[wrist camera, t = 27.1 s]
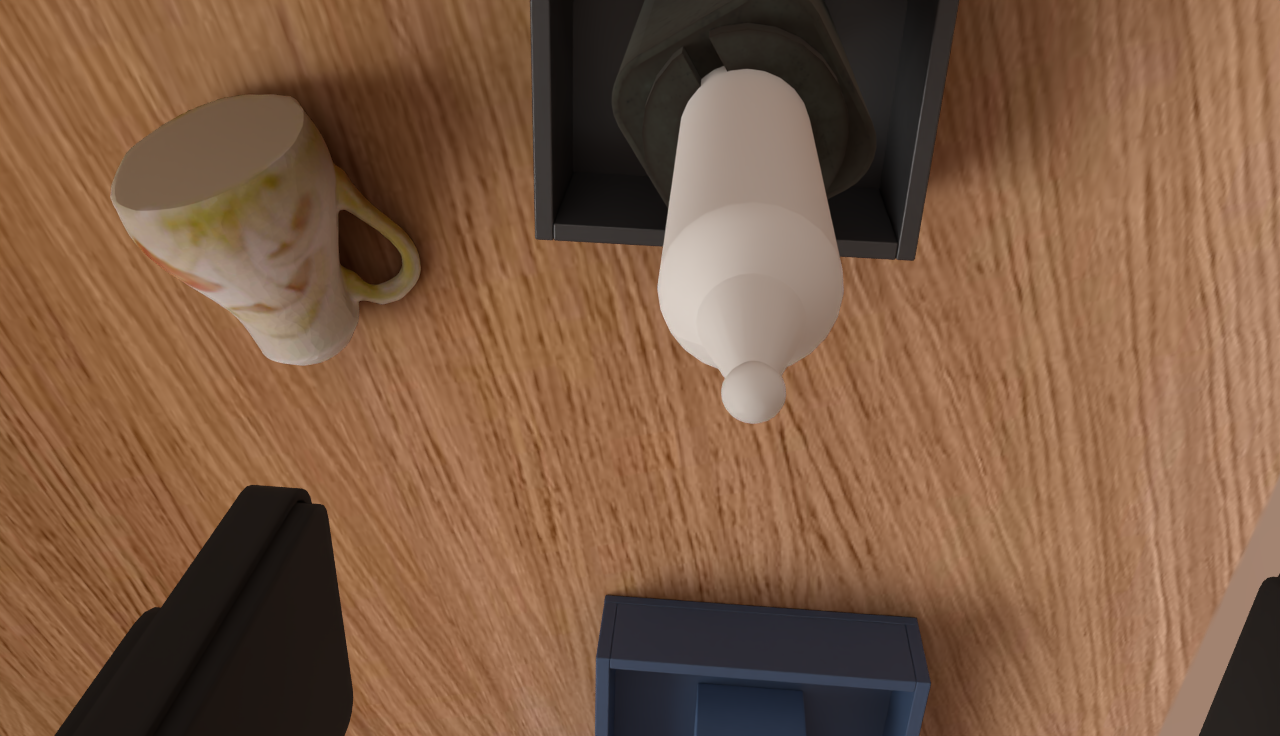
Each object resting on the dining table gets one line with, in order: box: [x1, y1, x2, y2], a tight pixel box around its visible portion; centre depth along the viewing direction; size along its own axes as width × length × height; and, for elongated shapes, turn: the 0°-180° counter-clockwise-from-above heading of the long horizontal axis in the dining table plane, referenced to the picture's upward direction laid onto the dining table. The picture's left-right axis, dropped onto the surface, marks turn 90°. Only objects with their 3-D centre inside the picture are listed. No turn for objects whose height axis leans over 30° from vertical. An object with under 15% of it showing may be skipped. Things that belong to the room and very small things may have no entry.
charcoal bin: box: [530, 0, 959, 261], centre depth 34 cm, size 12×12×6 cm
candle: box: [612, 0, 876, 424], centre depth 25 cm, size 5×5×25 cm
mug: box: [111, 94, 421, 365], centre depth 38 cm, size 8×10×10 cm
